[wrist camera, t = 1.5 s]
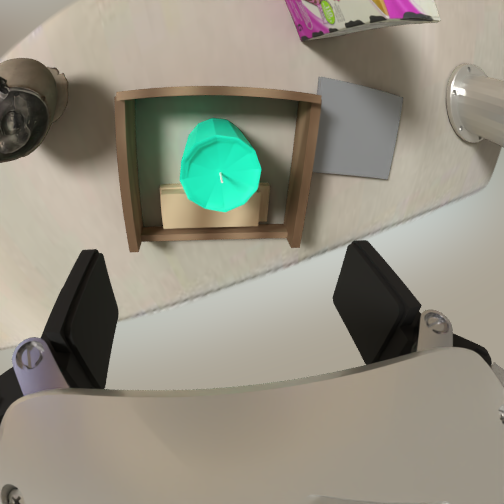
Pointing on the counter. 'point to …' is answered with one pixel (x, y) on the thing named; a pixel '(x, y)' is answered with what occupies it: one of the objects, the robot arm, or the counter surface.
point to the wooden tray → (290, 229)
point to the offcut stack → (194, 216)
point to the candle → (219, 166)
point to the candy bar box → (357, 15)
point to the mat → (356, 129)
